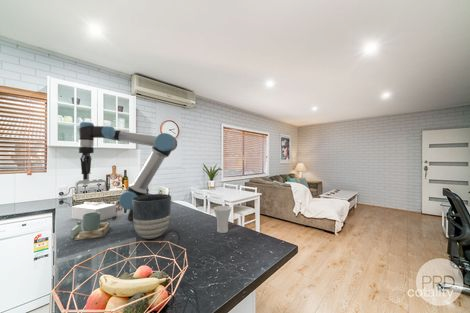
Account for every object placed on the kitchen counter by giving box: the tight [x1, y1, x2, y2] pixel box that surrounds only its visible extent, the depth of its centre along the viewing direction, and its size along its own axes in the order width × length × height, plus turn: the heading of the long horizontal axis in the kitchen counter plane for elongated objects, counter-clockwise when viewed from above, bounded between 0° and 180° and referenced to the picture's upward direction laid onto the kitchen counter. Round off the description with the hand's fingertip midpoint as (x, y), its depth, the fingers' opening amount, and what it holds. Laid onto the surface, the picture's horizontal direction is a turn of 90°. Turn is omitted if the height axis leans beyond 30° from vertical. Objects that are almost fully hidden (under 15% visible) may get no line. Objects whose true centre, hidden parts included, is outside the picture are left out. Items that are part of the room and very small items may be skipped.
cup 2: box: [213, 205, 232, 234], centre depth 113 cm, size 10×10×14 cm
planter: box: [132, 193, 172, 240], centre depth 105 cm, size 20×20×21 cm
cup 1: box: [82, 212, 101, 232], centre depth 109 cm, size 8×8×10 cm
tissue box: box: [71, 201, 117, 222], centre depth 140 cm, size 14×25×11 cm, turn 70°
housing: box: [74, 221, 111, 241], centre depth 109 cm, size 13×14×4 cm
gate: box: [70, 221, 82, 240], centre depth 107 cm, size 1×12×6 cm, turn 23°
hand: (86, 184), depth 121 cm, fingers closed
